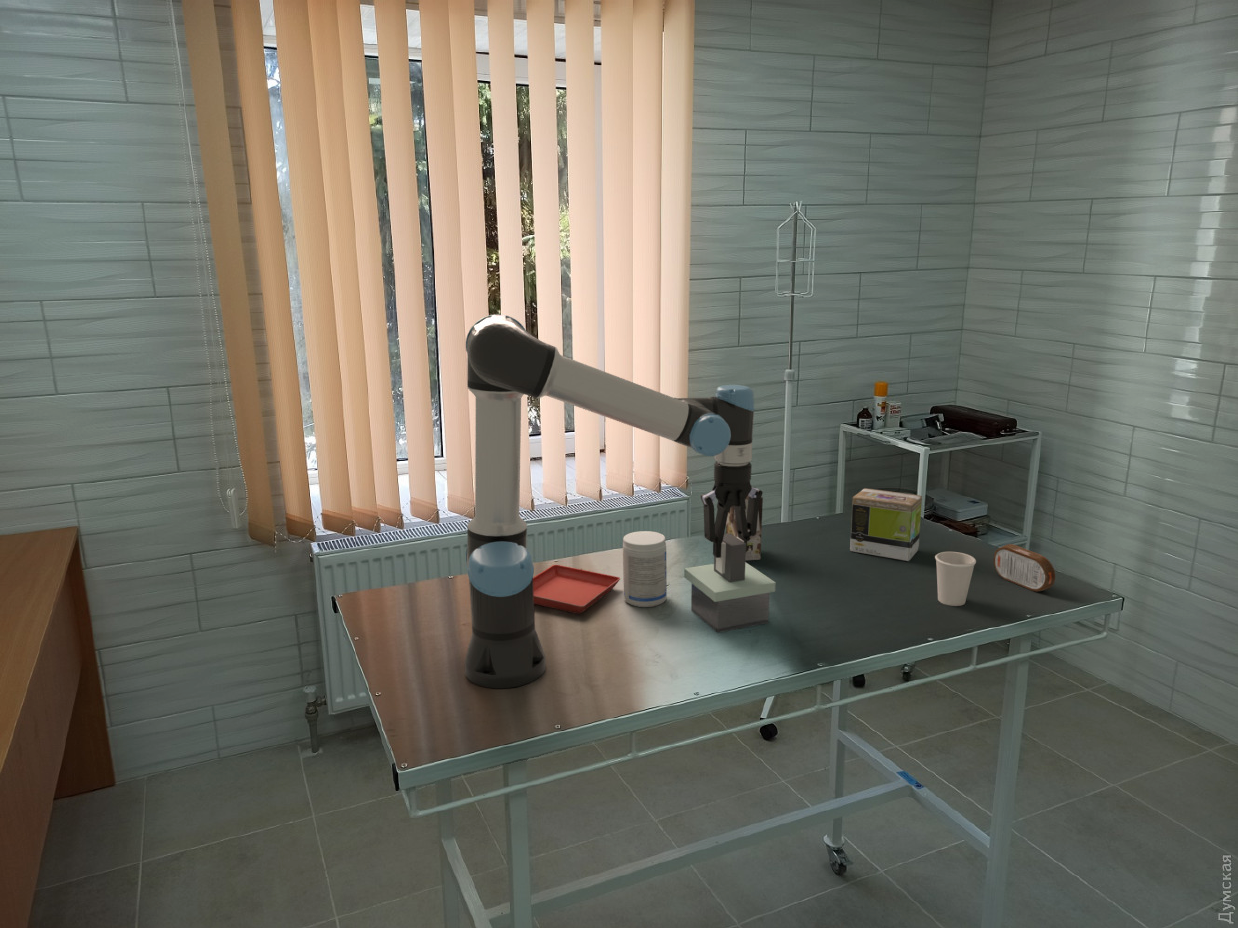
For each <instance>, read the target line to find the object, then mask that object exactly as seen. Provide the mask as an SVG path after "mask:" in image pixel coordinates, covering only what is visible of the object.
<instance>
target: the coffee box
mask: <svg viewBox="0 0 1238 928" xmlns="http://www.w3.org/2000/svg"><path fill="white" fill-rule="evenodd" d="M748 499H749V495H748V496H747V498H746V499H745V504H746V509H745V513H746V519H747V508H748ZM763 501H764V498H763V496H761V499H760V501H759V510H758V520H757V530H756V535H755V536H750V540H749V541H747V552H746V561H745V562H748V561H755V560H756V561H758V560H761V558H762V557H761V556H762V555H761V552H762V530H763V529H762V527H763V525H762V524H763V503H764V502H763ZM727 533H730V534H732V535H733V536H735V537H738V538H739V536H738V532H737V524H736V517H735V509H734V507H733V506H732V507H731V508H730V512H729V513H728V517H727V522H726V527H725V534H727Z"/></svg>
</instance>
